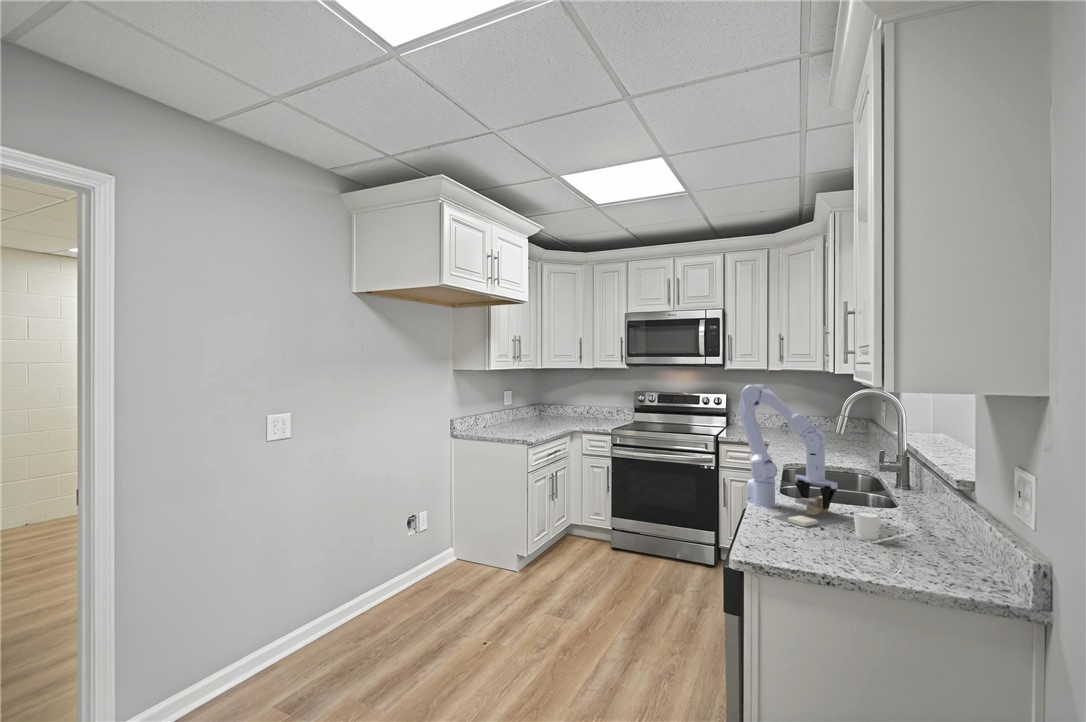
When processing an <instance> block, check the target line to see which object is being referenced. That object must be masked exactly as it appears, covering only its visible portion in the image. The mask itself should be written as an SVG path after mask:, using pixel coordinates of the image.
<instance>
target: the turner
mask: <svg viewBox="0 0 1086 722" xmlns="http://www.w3.org/2000/svg"><path fill="white" fill-rule="evenodd" d="M794 501H795V504H800V505H804V506H806V510H807V513H808V514H811V515H815V514H821V513H826V512H828V511H829V508H828V509H823V499H822V495H818V496H812V497H809V498H801V497H799V498H795V499H794Z"/></svg>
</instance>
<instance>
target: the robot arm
mask: <svg viewBox="0 0 1086 722" xmlns="http://www.w3.org/2000/svg"><path fill="white" fill-rule="evenodd" d="M760 404H763V405H769V406H770V407H771V408H772V409H773V410H775V411H776V412H777V413H778V414H780V415H781V417H783V418H784V419H786V423H787V424H786V425H787V426H788V427H789V428H790V429H791V430H792V431H793V432H794V433H795V434H796V435H798V436H799V437H800V438H801V439H802V441H803V444H804V445H805V446H806V447H805V475H801V474H795V475H794V481H796V482H795V483H794V484H795V487H796V488H797V489H798V492H799V495H800V498H810V489H811V485H816V486H821V487H819V489H820V493H821V496H822V499H823V509H828V510H829V509H830V505H831V502H832V499H833V497H834V495H835V493H836V492H837V490H838V482H836V481H832V480H829V479H826V453H825V452H826V451H825V444H826V443H827V440H828V439H827V435H826V433H825V432H824V431H823V430H822V429H818V427H817V426H816V425H813V424H812V423H811V422H810V421H808V419H807V416H806V415H805V414H803V415H802V414H801V413H795V412H793V411H792V410H791V409H790V408H789V407H788V406H787V404H785V403H784V402H783V401H782V400H781V399H780V398H779V397H778V396H777V395H776V394H775V393H774V391H772V390H771V389H770V388H768V387H767V386H766V385H765V384H762V383H758V384H747V385H746V386H744V387H743V389H742V390H741V392H740V399H739V404H738V409H737V410H738V413H739V416H740V419H741V424H742V427H743V429H744V432H745V437H746V440H747V444H748V447H749V450H750V453H751V460H750V465H751V470H750V473H751V474H750V475H751V476H752V478H750V479H749V480H748V481H747V484H746V501H745V503H747V504H748V503H749V504H750V505H753V506H758V507H761V508H764V509H768V508H773V507H780V506H782V505H781V504H778V503H776V479H775V477H776V476H777V474H778V467H777V465H776V464H775V463H774V461H773V460H772V457H771V455H769V453H768V452H767V447H766V444H765V442H764V438H763V436H762V435H763V434H762V431H761V428H760V425H759V423H758V418H757V416H756V412H755V411H756V410H757V408H758V406H759V405H760Z"/></svg>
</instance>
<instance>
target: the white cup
mask: <svg viewBox="0 0 1086 722" xmlns="http://www.w3.org/2000/svg"><path fill="white" fill-rule="evenodd" d="M881 517H882V516H881V515H880V514H877V513H873V512H870V511H869V512H867V511H855V512H853V518H854V519H853V520H854V530H855V531H854V532H855V536H856V537H858V538H861V539H866V540H872V542H879V538H880V537H879V536H880V530H881V529H880V528H881V520H882V519H881Z"/></svg>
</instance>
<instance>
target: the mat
mask: <svg viewBox="0 0 1086 722" xmlns="http://www.w3.org/2000/svg"><path fill="white" fill-rule="evenodd" d="M800 515H801V516H804V517H808V518H811V519H815V520H817V524H816V525H812V526H807V527H803V526H800V525H796V524H793V523H790V522H788V518H789V517H794V516H800ZM770 518H771V519H776V520H779V521H781V522H785V523H788V524H791V525H795V526H798V527H802V528H805V529H809V530H811V529H814V528H818V527H819V528H820V527H822V526H829V525H833V524H839V523H843V522H848V521H852V520H854V516H853V517H852V516H849V515H845V514H840V513H837V512H832V511H830V510H828V512H826V513H821V514H815V515H811V514H808V513H807V509H806V510H801V511H795V512H790V513H785V514H779V515H773V516H770Z"/></svg>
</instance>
